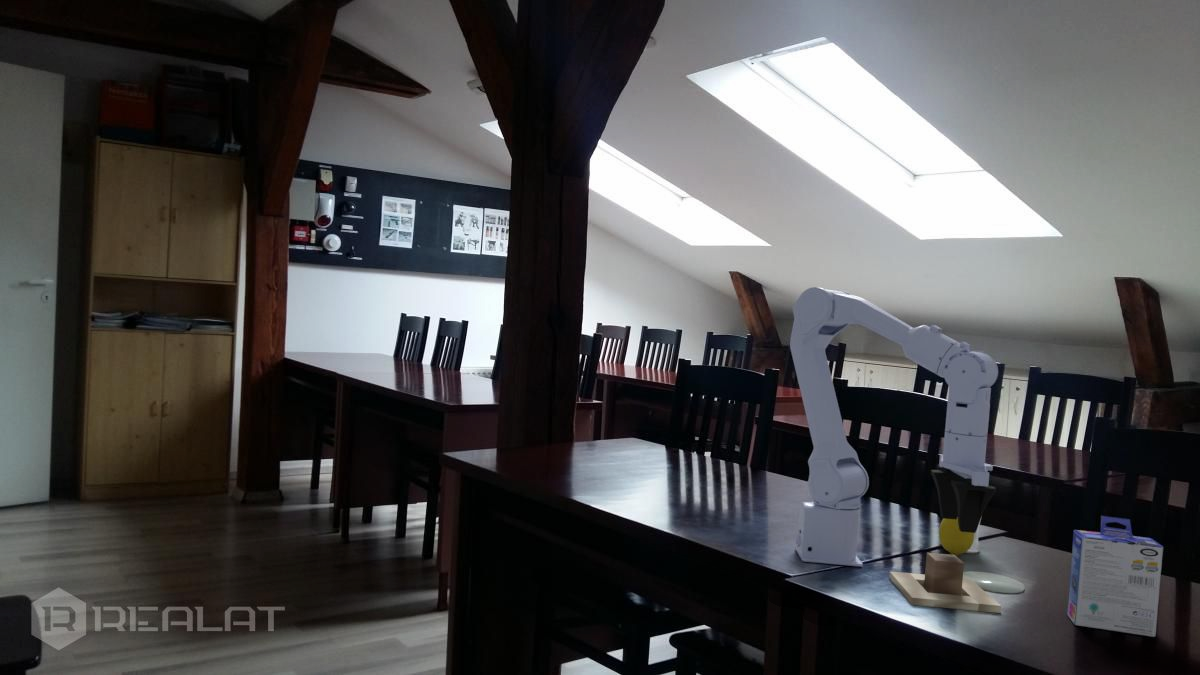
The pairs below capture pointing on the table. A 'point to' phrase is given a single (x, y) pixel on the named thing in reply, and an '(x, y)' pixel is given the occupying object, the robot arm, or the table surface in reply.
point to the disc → (995, 582)
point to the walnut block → (943, 574)
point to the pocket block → (969, 600)
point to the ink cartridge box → (1115, 579)
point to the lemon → (954, 537)
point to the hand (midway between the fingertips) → (957, 525)
